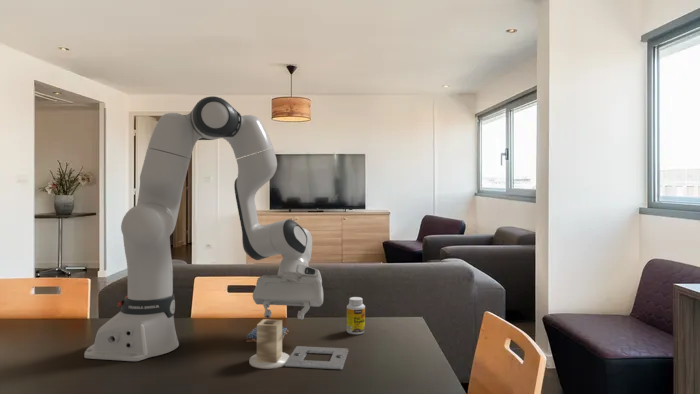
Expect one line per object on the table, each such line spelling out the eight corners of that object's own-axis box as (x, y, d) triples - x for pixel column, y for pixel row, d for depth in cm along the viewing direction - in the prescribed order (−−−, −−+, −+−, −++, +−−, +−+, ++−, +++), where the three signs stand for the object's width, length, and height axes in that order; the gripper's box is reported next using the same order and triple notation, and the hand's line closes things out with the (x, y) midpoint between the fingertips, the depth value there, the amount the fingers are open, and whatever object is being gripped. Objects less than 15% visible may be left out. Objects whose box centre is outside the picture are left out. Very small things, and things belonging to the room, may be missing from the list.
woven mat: (244, 343, 124) (244, 336, 124) (255, 331, 135) (255, 325, 135) (280, 345, 123) (280, 337, 123) (289, 333, 134) (289, 326, 134)
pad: (245, 369, 105) (245, 366, 105) (252, 353, 115) (252, 351, 115) (288, 368, 105) (288, 365, 105) (291, 353, 115) (291, 351, 115)
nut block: (256, 361, 108) (256, 324, 108) (263, 354, 113) (263, 318, 113) (276, 362, 107) (276, 325, 107) (282, 355, 112) (282, 319, 112)
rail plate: (284, 366, 107) (284, 362, 107) (296, 349, 119) (296, 345, 119) (342, 369, 105) (342, 365, 105) (348, 351, 117) (348, 348, 117)
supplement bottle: (353, 336, 129) (353, 301, 129) (342, 331, 134) (343, 297, 134) (368, 333, 133) (368, 299, 132) (358, 328, 137) (358, 295, 137)
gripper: (256, 268, 131) (244, 310, 121) (324, 270, 128) (317, 313, 119) (261, 280, 135) (250, 321, 126) (327, 282, 133) (320, 324, 123)
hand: (283, 317), depth 122 cm, fingers open, 8 cm apart
